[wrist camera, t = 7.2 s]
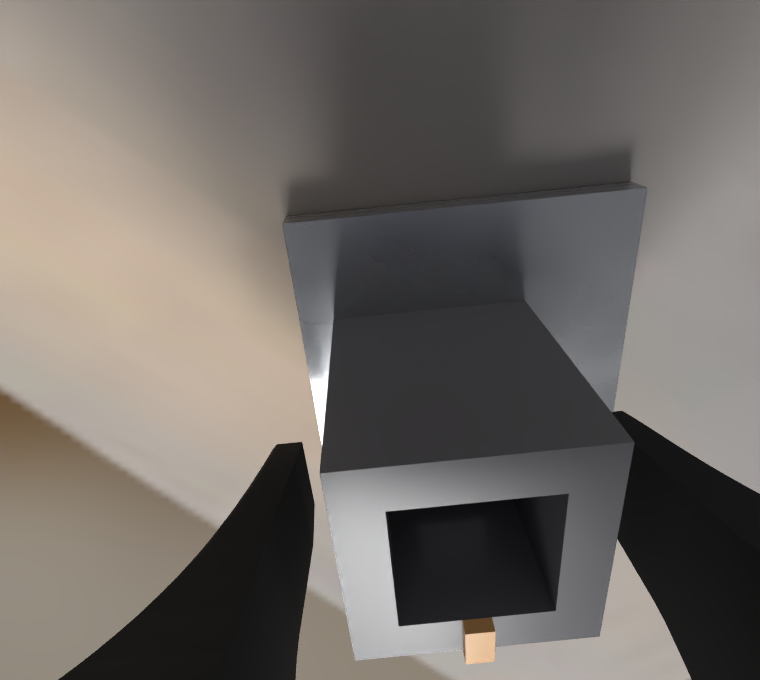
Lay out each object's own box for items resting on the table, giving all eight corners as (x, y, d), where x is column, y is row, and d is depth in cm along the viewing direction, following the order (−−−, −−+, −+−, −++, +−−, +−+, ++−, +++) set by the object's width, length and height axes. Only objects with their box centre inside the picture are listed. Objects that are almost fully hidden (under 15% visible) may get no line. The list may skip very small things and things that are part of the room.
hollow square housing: (525, 300, 14) (643, 454, 8) (518, 451, 16) (605, 650, 10) (333, 319, 14) (318, 486, 8) (355, 467, 16) (354, 675, 10)
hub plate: (631, 182, 13) (647, 187, 12) (597, 429, 17) (608, 444, 16) (286, 216, 13) (282, 223, 12) (327, 456, 17) (326, 472, 16)
